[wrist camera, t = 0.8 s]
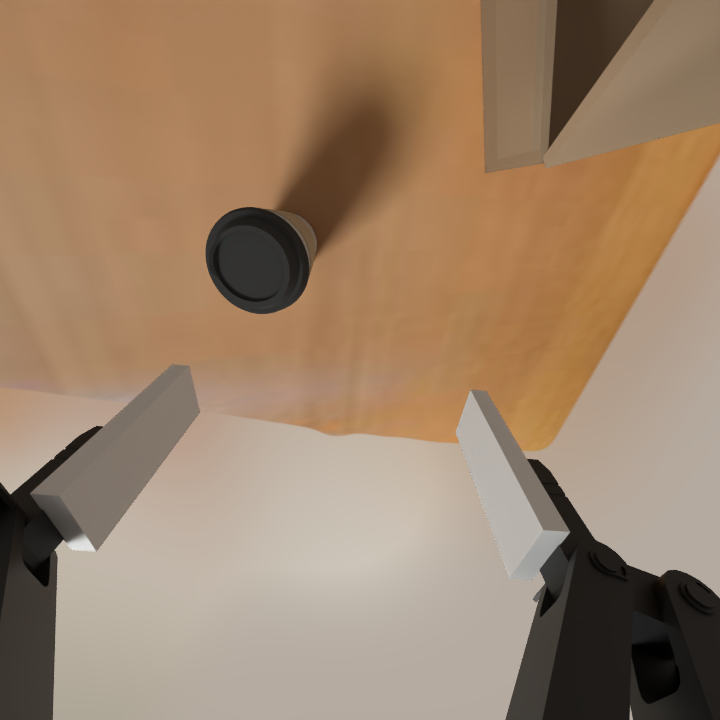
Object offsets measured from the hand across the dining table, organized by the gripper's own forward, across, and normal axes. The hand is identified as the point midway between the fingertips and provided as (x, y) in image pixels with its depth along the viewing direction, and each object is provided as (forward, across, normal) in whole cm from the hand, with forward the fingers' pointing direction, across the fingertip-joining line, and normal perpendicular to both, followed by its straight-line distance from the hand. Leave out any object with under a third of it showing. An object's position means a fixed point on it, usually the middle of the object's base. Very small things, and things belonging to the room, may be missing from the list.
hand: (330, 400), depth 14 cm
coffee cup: (+28, -8, +2) cm, 30 cm away
